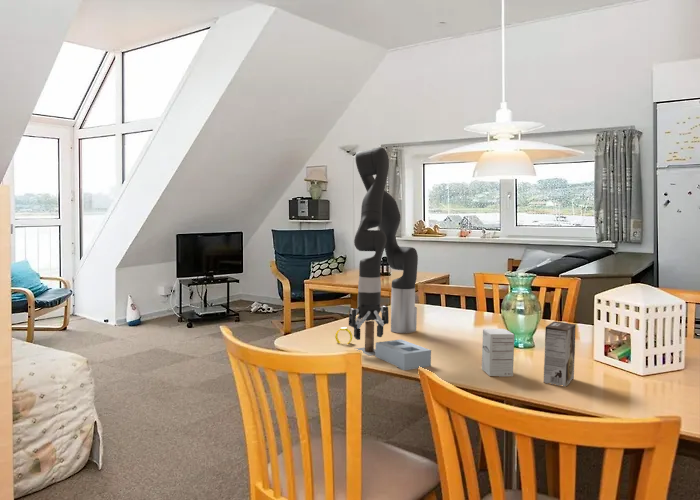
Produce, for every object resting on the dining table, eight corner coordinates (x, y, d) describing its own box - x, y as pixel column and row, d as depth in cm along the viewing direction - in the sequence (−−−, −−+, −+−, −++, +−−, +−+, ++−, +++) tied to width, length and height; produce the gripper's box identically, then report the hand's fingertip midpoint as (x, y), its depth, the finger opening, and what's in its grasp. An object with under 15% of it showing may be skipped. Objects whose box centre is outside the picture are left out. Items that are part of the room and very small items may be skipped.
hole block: (400, 354, 189) (401, 339, 189) (430, 366, 175) (431, 350, 175) (375, 357, 184) (375, 342, 184) (404, 370, 171) (404, 353, 170)
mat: (369, 347, 197) (369, 346, 197) (384, 354, 189) (384, 353, 189) (354, 349, 194) (354, 348, 194) (369, 356, 186) (369, 355, 186)
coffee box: (551, 375, 167) (553, 320, 166) (574, 379, 164) (576, 323, 163) (542, 382, 160) (544, 326, 159) (566, 387, 156) (568, 329, 155)
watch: (334, 345, 202) (333, 328, 202) (337, 343, 205) (336, 326, 204) (350, 345, 200) (349, 328, 200) (353, 343, 203) (352, 327, 202)
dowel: (370, 349, 193) (371, 320, 193) (375, 351, 191) (375, 322, 190) (363, 350, 192) (363, 321, 191) (367, 352, 189) (368, 322, 189)
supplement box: (480, 369, 172) (482, 328, 171) (504, 369, 173) (506, 328, 172) (488, 377, 165) (490, 333, 164) (513, 376, 166) (515, 333, 165)
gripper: (381, 287, 197) (380, 333, 198) (345, 289, 190) (344, 337, 191) (393, 290, 190) (392, 338, 191) (356, 292, 183) (355, 342, 184)
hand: (368, 338), depth 191 cm, fingers open, 8 cm apart
